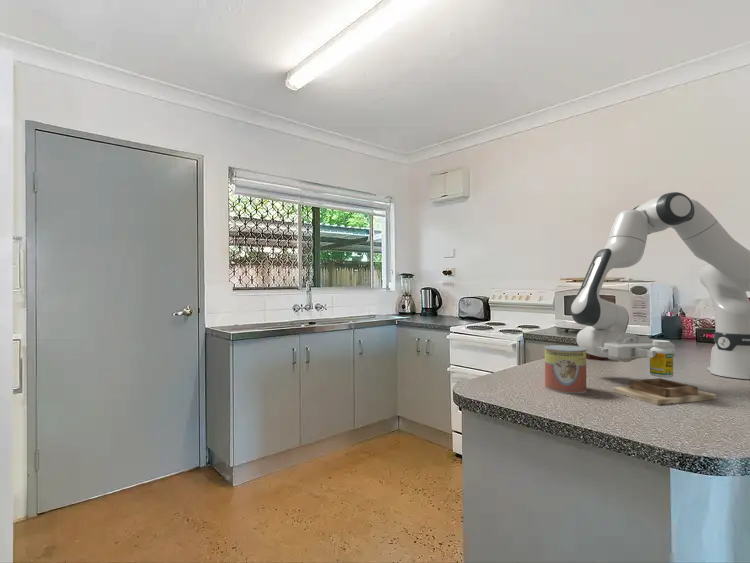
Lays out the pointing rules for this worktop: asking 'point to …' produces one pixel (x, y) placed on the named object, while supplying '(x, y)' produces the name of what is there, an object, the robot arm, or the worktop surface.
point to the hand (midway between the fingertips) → (664, 353)
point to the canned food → (565, 368)
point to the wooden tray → (663, 391)
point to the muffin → (595, 357)
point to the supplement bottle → (662, 359)
